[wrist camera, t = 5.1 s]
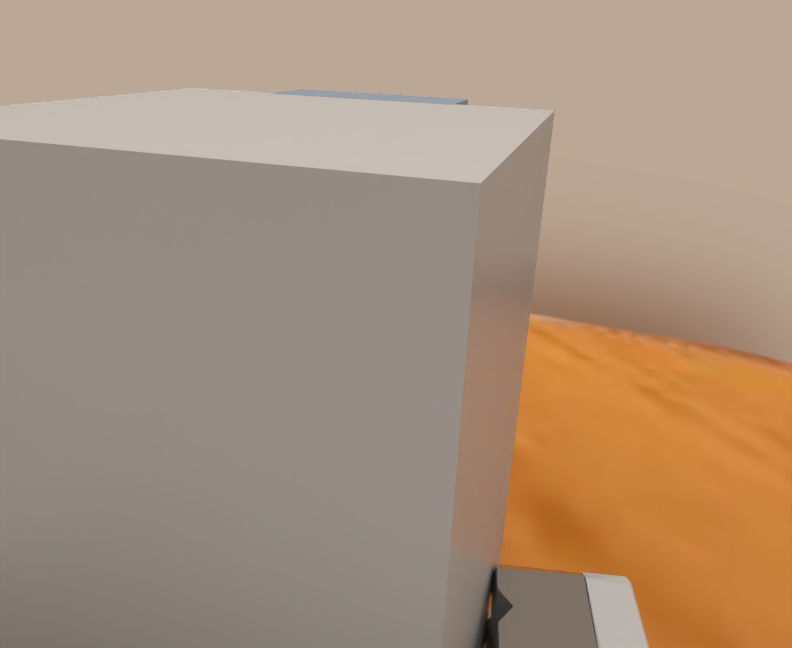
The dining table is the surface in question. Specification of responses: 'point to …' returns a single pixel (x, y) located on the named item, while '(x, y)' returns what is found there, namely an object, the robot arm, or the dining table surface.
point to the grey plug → (260, 366)
